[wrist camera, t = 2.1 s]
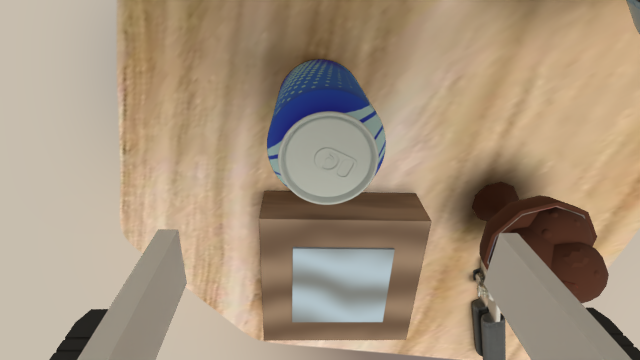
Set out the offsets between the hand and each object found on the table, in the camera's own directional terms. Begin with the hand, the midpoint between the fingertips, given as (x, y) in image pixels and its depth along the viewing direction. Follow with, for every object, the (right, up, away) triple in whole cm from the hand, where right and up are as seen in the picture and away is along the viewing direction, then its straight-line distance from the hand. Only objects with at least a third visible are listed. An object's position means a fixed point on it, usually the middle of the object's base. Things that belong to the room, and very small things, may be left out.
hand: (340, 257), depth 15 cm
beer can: (-1, +12, +23) cm, 26 cm away
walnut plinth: (+1, -6, +32) cm, 32 cm away
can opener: (+24, -14, +38) cm, 47 cm away
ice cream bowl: (+21, +1, +29) cm, 36 cm away
